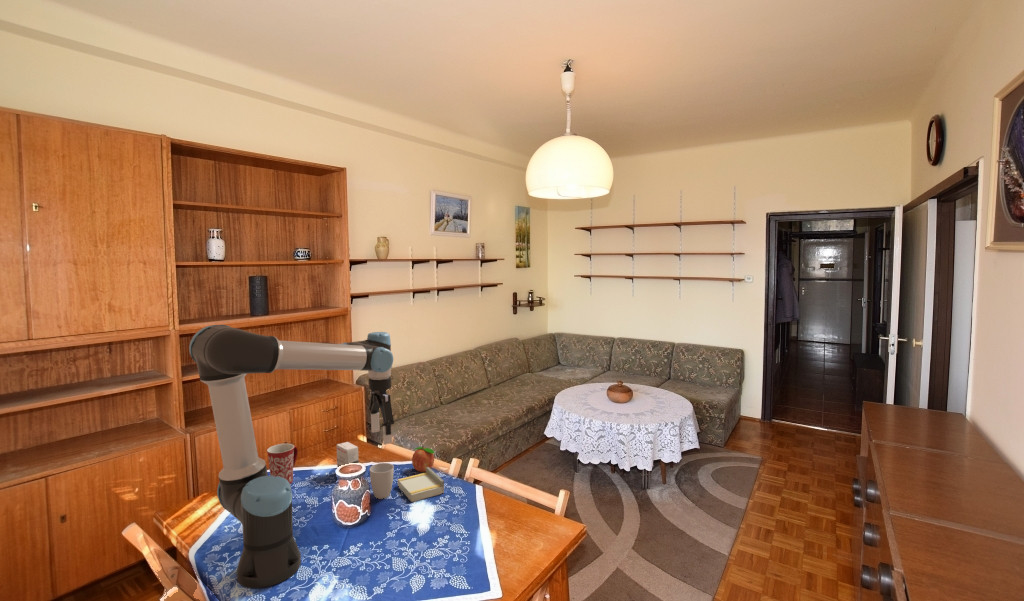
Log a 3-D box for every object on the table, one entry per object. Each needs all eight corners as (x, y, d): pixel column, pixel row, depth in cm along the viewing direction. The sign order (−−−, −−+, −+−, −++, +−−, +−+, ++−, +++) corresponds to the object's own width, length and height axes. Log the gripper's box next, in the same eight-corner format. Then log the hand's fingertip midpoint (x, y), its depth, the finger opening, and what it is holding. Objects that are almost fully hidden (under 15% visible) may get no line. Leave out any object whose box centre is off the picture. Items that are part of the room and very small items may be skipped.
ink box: (359, 476, 185) (359, 446, 184) (347, 480, 181) (347, 450, 180) (348, 470, 191) (347, 440, 190) (336, 474, 187) (335, 444, 186)
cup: (399, 493, 171) (398, 466, 170) (381, 503, 164) (380, 474, 163) (382, 488, 175) (382, 461, 175) (365, 497, 168) (364, 469, 168)
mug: (283, 490, 173) (281, 453, 172) (262, 487, 176) (261, 451, 175) (307, 475, 185) (306, 441, 184) (287, 472, 188) (286, 438, 187)
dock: (444, 493, 171) (443, 480, 171) (411, 502, 165) (411, 489, 165) (428, 478, 183) (428, 466, 183) (397, 486, 177) (397, 474, 176)
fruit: (424, 477, 184) (424, 451, 184) (406, 471, 190) (405, 446, 189) (439, 469, 192) (439, 444, 191) (421, 463, 197) (421, 439, 196)
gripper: (403, 383, 158) (404, 446, 160) (379, 369, 179) (381, 425, 181) (380, 386, 154) (381, 451, 156) (359, 371, 175) (360, 428, 177)
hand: (381, 437), depth 168 cm, fingers open, 13 cm apart
